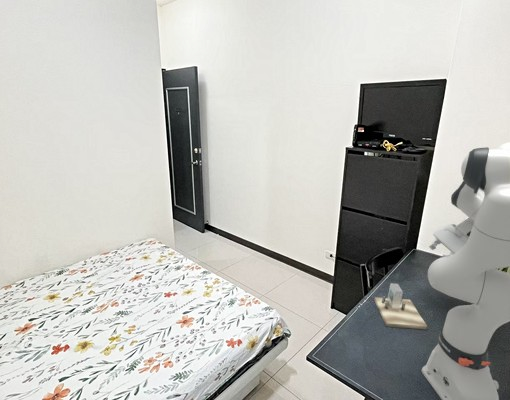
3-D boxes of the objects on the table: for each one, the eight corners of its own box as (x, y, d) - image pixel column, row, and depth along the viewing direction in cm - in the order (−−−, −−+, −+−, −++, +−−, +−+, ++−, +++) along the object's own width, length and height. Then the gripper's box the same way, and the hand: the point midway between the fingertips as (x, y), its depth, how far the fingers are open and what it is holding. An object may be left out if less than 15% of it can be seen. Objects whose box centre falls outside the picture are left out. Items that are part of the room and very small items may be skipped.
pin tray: (426, 329, 111) (429, 320, 110) (386, 326, 112) (388, 316, 111) (409, 302, 126) (411, 293, 125) (374, 300, 127) (375, 291, 126)
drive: (399, 310, 119) (402, 291, 116) (391, 309, 119) (395, 291, 116) (394, 301, 124) (397, 283, 121) (386, 301, 124) (390, 283, 122)
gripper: (448, 217, 123) (420, 237, 127) (479, 239, 104) (444, 261, 108) (456, 227, 124) (428, 247, 128) (489, 250, 105) (454, 272, 109)
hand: (436, 253), depth 118 cm, fingers open, 8 cm apart
